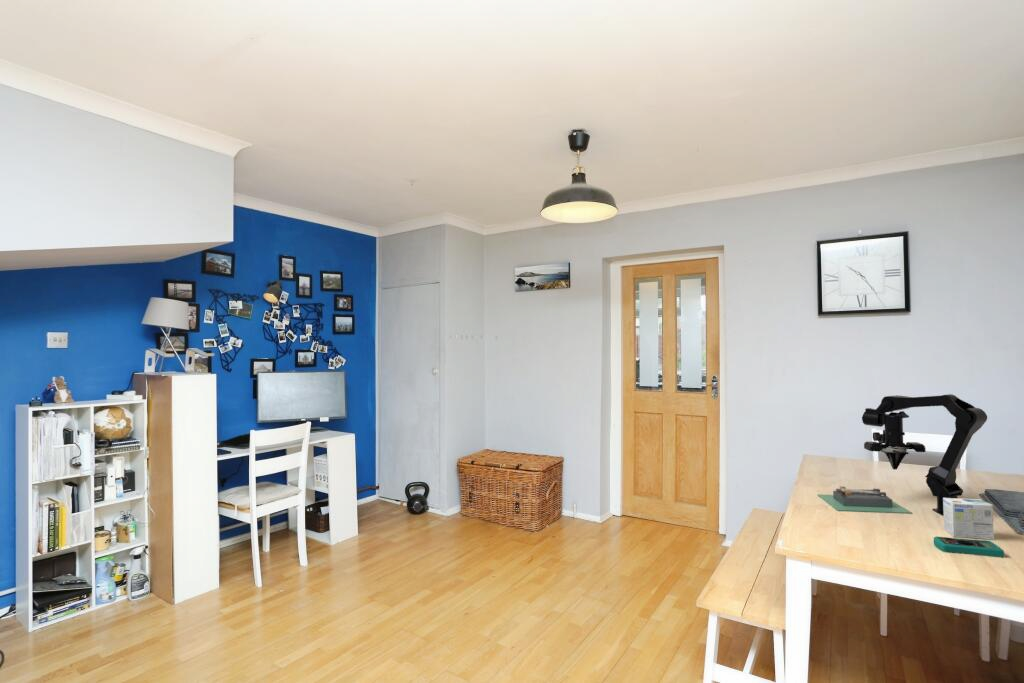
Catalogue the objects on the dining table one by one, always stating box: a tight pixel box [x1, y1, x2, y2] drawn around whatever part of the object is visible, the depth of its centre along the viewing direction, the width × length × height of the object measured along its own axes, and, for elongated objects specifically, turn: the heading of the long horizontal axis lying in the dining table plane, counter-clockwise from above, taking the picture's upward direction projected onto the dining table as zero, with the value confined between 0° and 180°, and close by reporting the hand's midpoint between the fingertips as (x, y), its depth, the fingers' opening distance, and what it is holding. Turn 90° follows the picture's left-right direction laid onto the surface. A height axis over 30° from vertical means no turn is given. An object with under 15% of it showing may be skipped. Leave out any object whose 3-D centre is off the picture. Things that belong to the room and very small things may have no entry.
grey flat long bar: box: [841, 488, 879, 496], centre depth 200 cm, size 3×12×1 cm, turn 78°
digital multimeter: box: [933, 536, 1005, 558], centre depth 155 cm, size 7×15×3 cm, turn 70°
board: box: [817, 493, 913, 515], centre depth 200 cm, size 20×24×1 cm
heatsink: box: [832, 486, 893, 508], centre depth 200 cm, size 10×16×5 cm, turn 79°
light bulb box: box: [943, 497, 995, 540], centre depth 167 cm, size 11×7×11 cm, turn 74°
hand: (894, 469), depth 203 cm, fingers closed
